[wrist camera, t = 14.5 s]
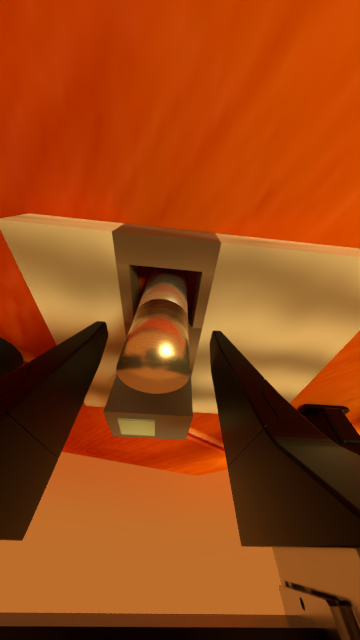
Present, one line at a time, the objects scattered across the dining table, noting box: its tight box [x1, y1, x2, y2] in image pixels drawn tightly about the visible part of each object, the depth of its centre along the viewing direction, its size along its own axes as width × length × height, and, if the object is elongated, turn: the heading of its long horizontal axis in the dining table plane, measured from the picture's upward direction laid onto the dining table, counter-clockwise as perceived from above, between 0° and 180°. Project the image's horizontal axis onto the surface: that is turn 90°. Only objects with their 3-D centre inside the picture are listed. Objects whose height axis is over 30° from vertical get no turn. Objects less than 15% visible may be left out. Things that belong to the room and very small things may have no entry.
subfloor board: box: [0, 214, 360, 414], centre depth 17 cm, size 20×24×2 cm
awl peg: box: [116, 267, 190, 394], centre depth 10 cm, size 3×3×8 cm
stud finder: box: [103, 374, 193, 440], centre depth 17 cm, size 5×7×4 cm
